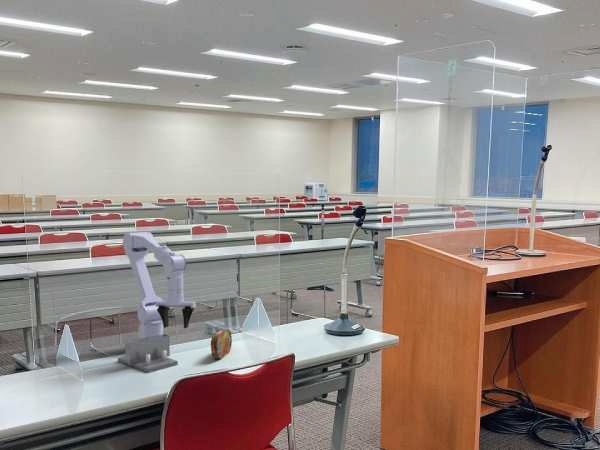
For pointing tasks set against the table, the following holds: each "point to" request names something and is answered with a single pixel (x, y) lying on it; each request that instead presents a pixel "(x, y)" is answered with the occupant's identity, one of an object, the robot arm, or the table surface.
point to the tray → (152, 363)
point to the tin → (221, 344)
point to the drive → (146, 348)
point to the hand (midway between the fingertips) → (176, 327)
